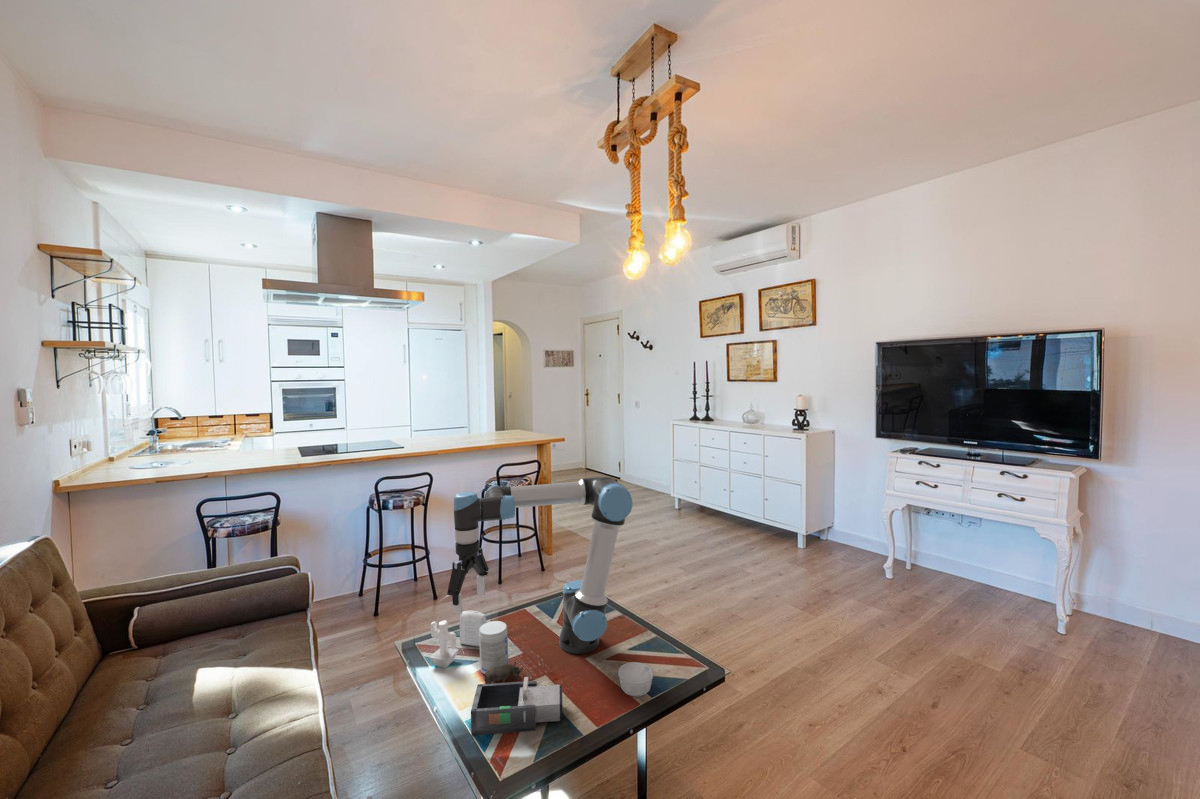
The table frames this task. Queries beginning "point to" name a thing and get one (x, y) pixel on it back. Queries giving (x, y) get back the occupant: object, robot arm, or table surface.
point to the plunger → (543, 701)
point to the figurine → (443, 645)
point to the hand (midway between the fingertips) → (470, 603)
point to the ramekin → (635, 678)
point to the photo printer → (471, 627)
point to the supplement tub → (493, 645)
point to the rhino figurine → (501, 673)
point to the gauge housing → (501, 709)
